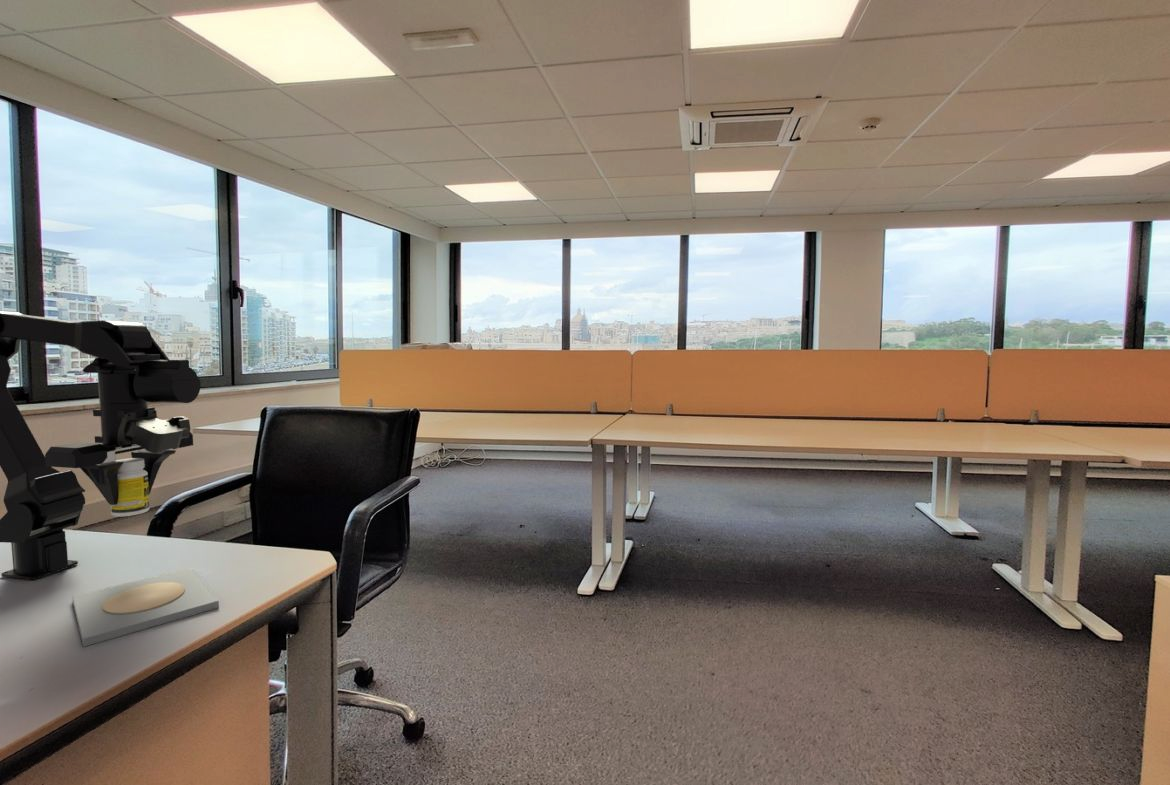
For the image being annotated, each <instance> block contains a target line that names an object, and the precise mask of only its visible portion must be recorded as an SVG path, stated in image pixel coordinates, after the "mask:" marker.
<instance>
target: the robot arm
mask: <svg viewBox="0 0 1170 785" xmlns="http://www.w3.org/2000/svg"><path fill="white" fill-rule="evenodd" d="M21 340H24V341H30V342H31V341H32V342H37V343H38V342H39V343H46V344H53V345H61V346H66V347H67V346H68V347H71V348H74V349H76V350H78V351H79V352H80V353H82V354H85V355H89V356H92V357H95V358H94V359H93V360H92V362H91V363H89V364H87V365H86V366H85V367H84V368H82V371H83V373H86V374H97V383H98V399H99V400H98V401H99V402H98V403H99V408H97V409H96V408H95V409H92V414H93V415H92V416H93V417H99V418H100V431H101V433H100V434H101V435H95V436H94V443H91V442H72V443H65V444H60V445H53V446H50V447H49V449H48V450H47V451H46V453H45V454H44V452H43V451H42V449H41V447H40V446H39V443H38V441H37V440H36V438H35V436H34V434H33V433H32V431H31V429H30V427H29V426H28V424H27V421H26V420H25V418H24V416H23V415H22V413H21V410H20V409H19V407H18V405H17V404H16V402H15V400H14V398H13V397H12V394H11V393H10V391H9V389H8V382H9V379H10V376H11V372H12V369H11V366H10V363H9V360H11V358H12V357H14V356H15V355H16V354H18V353H19V352H20V345H21ZM200 391H201V379H199V376H198V374H197V372H196V371H195V369H193V368H192V367H190V360H189V359H170V358H169V357H168V356H167V354H165V352H164V351H163V350H162V348H161V347H160V345H159V344H158V343H157V341H155V339H154V338H153V336H152V335H151V332H150V330H149V329H148V327H147V325H146V324H144V323H140V322H131V321H119V320H118V321H114V320H85V321H84V320H83V321H72V320H66V319H58V318H51V317H46V316H45V317H44V316H37V315H30V314H29V315H28V314H23V313H20V312H19V311H5V310H4V311H3V310H0V469H1V470H2V472H3V474H4V476H5V477H6V480H7V484H6V489H5V492H4V496H3V504H4V506H5V509H6V513H4V515H3V516H2V517H1V518H0V543H7V544H8V543H10V544H11V545H10V546H11V552H12V553H11V555H12V556H11V558H12V569H10V570H6V571H3V572H1V573H0V574H1V577H3V578H4V577H5V578H13V579H22V580H29V581H30V580H31V581H33V580H37V579H39V578H43V577H45V576H49V575H51V574H53V573H56V572H60V571H62V570H65V569H68V568H70V567H74V566H76V565H79V561H78V560H72V559H69V557H68V542H67V540H66V530H65V529H67V528H70V527H74V526H77V525H78V524H79V520H80V517H81V514H82V511H83V508H84V506H85V504H86V498H85V495H84V493H85V492H86V490H85V488H83V487H82V486H81V484H80V482H79V481H78V478H77V475H76V473H74V471H73V470H70V469H80V471H82V472H83V473H84V474H85V475H86V476H87V477H88V478H89V480H90V481H91V482H92V483H93V484H94V486H95V487H96V488H97V490H98V491H99V492H100V494H101V495H102V497H103V498H104V499H105V500H106V502H107V503H108V504H109V505H116V504H117V503H118V477H117V472H118V470H119V468H120V467H121V466H122V464H123V462H117V461H116V455H119V454H124V453H129V452H130V456H131V458H143V459H144V464H145V466H144V468H143V470H145V471H147V473H148V488H149V495H150V494H151V491H152V489H153V485H154V483H155V480H156V478H157V475H158V473H159V470H160V468H161V466H162V464H163V463H164V462H165V460H167V459H168V458H169V457H170V456H172V455H174V454H176V452H177V449H181V448H186V447H191V446H194V435H193V433H192V431H191V424H190V419H189V418H188V417H186V416H183V415H180V416H174V417H171V418H170V419H160V418H159V417H158V415H157V414H158V413H157V410H156V408H155V407H149V403H150V404H151V403H159V404H160V403H161V404H162V403H163V404H190V403H192V402H194V401H195V400H196V399H197V398H198V396H199V394H200ZM56 468H65V469H66V468H67V469H69V470H66V471H62V472H61V471H59V470H58V469H56Z"/></svg>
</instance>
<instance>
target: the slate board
mask: <svg viewBox="0 0 1170 785" xmlns="http://www.w3.org/2000/svg"><path fill="white" fill-rule="evenodd" d="M219 601H220V600H219V599H218V598H217V597H216V595H215V594H214V593H213V592H212V591H211V589H210V588H209V587H208V585H207V584H206V583H205V581H204V580H203V579H202V577H200V575H199V574H198V573H197V571H196V570H195V569H194V568H193V567H188V568H183V569H180V570H175V571H172V572H168V573H164V574H163V573H162V574H159V575H155V576H150V577H147V578H142V579H137V580H134V581H129V582H125V583H121V584H115V585H113V586H108V587H105V588H99V589H95V590H92V591H91V590H90V591H87V592H83V593H78V594H74V595H72V604H73V609H74V614H75V618H76V622H77V626H78V630H79V634H80V638H81V642H82V647H83V648H84V647H86V646H90V645H94V644H97V643H101V642H104V641H105V642H106V641H109V640H112V639H114V638H115V639H116V638H119V637H121V636H125V635H129V634H132V633H135V632H139V631H142V630H143V631H144V630H145V629H150V628H152V627H156V626H160V625H163V624H166V623H170V622H173V621H177V620H181V619H184V618H187V617H188V618H189V617H190V616H194V615H197V614H201V613H204V612H208V611H211V610H216V609H218V608H220V602H219Z"/></svg>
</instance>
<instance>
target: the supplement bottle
mask: <svg viewBox="0 0 1170 785" xmlns="http://www.w3.org/2000/svg"><path fill="white" fill-rule="evenodd" d="M115 461H117V462H123V464H122V466H121V467H120V468H119V470H118V472H117V477H118V503H117V504H116V505H110V504H109V505H110V507H109V508H110V514H111V516H113V517H129V516H135V515H136V516H137V515H139V514H143V513H146V512H148V511H149V510H150V506H151V505H150V494H149V488H148V473H147V471H145V470H143V468H144V466H145V464H144V459H143V458H132V457H131V458H122V459H117V460H116V459H115Z"/></svg>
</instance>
